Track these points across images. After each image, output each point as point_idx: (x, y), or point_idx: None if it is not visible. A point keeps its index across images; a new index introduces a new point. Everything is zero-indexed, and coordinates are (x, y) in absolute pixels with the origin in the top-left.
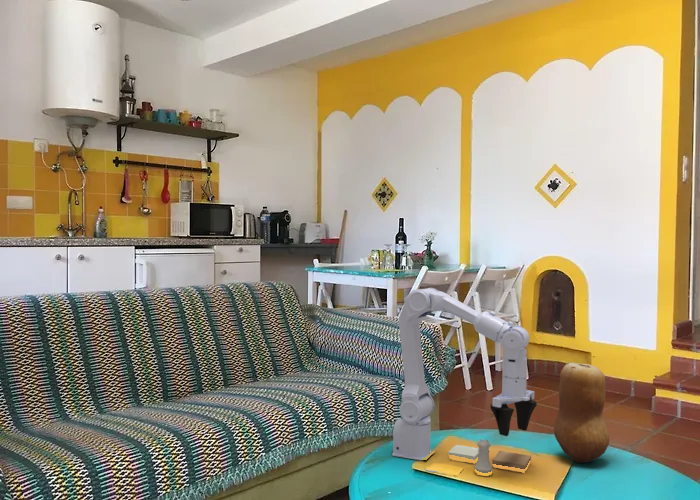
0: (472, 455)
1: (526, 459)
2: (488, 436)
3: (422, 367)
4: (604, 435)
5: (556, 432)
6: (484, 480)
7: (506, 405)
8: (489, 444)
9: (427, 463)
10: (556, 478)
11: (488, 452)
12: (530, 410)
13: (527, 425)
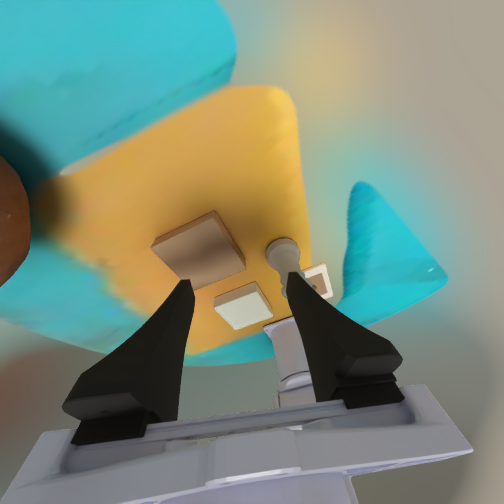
0: (256, 295)
1: (180, 238)
2: None
3: None
4: None
5: (10, 263)
6: (308, 230)
7: (351, 394)
8: None
9: None
10: (169, 142)
11: (294, 269)
12: (151, 344)
13: (177, 289)
